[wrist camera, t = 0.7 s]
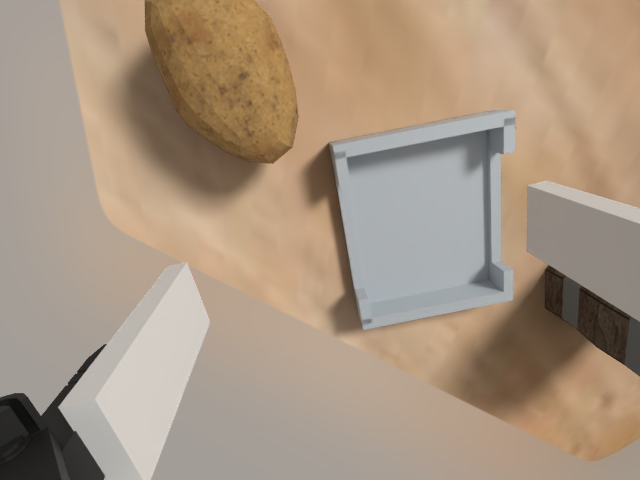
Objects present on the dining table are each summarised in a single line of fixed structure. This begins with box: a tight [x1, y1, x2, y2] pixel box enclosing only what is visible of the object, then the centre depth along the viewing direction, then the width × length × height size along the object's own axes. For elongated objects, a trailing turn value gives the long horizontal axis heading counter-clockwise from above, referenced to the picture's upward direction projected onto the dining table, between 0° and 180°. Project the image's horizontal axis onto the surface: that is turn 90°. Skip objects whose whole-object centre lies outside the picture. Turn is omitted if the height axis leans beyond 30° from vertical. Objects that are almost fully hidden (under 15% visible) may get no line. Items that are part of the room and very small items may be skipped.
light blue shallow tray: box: [329, 110, 515, 330], centre depth 35 cm, size 19×16×4 cm
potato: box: [145, 0, 299, 164], centre depth 27 cm, size 10×14×8 cm
